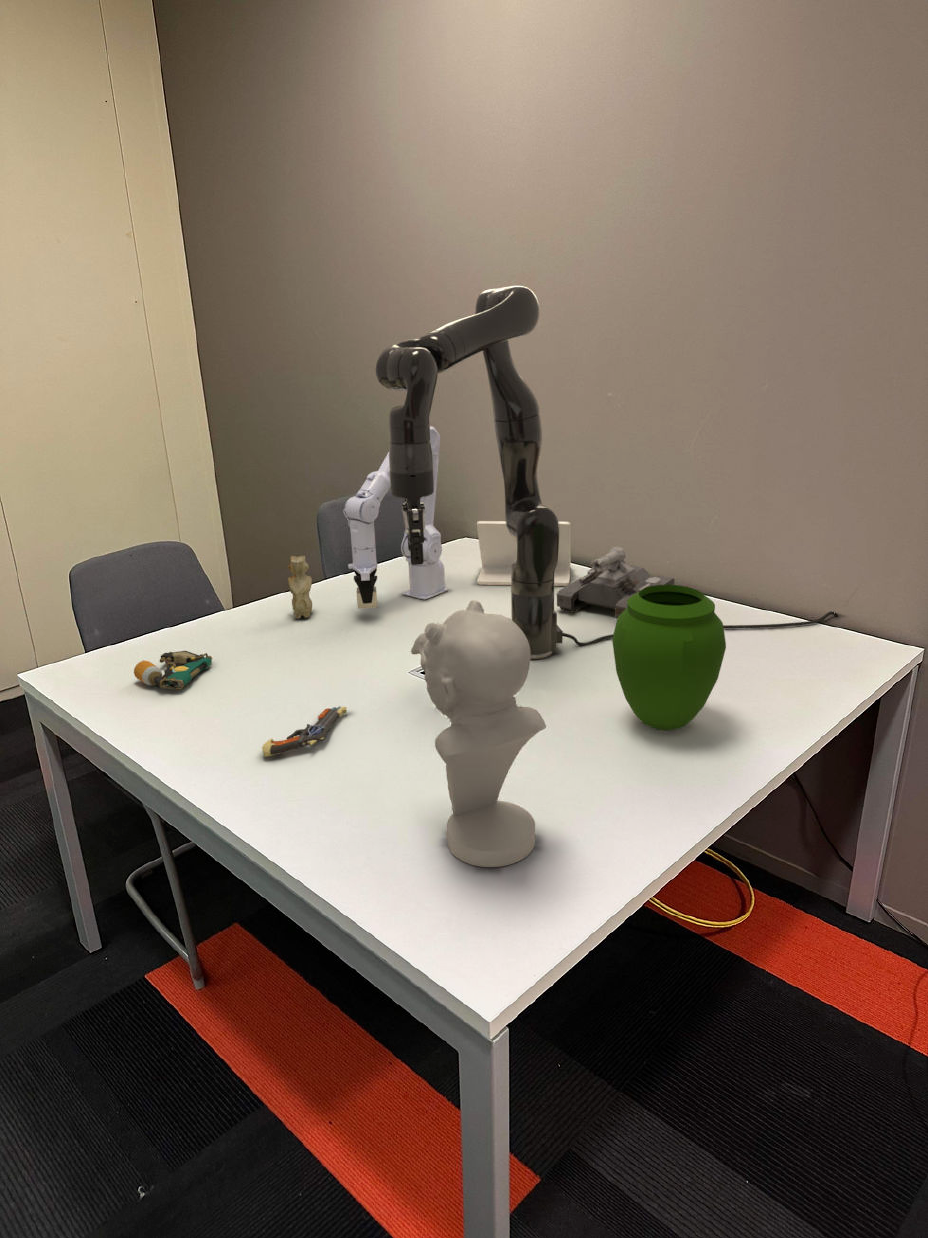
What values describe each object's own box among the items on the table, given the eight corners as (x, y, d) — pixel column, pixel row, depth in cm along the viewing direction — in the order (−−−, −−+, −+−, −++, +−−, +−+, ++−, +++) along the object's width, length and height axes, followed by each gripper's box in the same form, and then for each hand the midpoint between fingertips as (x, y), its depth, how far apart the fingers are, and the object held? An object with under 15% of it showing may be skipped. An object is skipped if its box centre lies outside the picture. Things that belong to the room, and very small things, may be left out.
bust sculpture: (481, 772, 140) (476, 569, 128) (565, 848, 120) (569, 617, 108) (392, 800, 134) (378, 588, 121) (465, 886, 114) (457, 642, 101)
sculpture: (316, 609, 217) (311, 553, 212) (313, 619, 210) (307, 561, 205) (293, 610, 217) (287, 554, 211) (289, 620, 210) (283, 562, 205)
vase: (732, 711, 158) (744, 587, 150) (698, 758, 143) (709, 622, 134) (633, 689, 168) (638, 571, 159) (591, 730, 153) (595, 602, 144)
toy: (603, 584, 229) (605, 530, 224) (673, 597, 218) (677, 540, 213) (555, 612, 210) (556, 553, 205) (630, 627, 199) (633, 566, 194)
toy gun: (257, 746, 146) (311, 744, 144) (298, 704, 164) (347, 701, 161) (260, 761, 146) (314, 759, 144) (300, 717, 164) (349, 715, 162)
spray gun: (177, 659, 191) (231, 671, 185) (120, 684, 176) (176, 698, 171) (176, 641, 190) (230, 653, 184) (118, 665, 175) (174, 678, 169)
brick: (357, 602, 213) (356, 587, 211) (377, 601, 213) (376, 586, 212) (357, 608, 209) (356, 593, 207) (377, 607, 209) (376, 591, 208)
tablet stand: (569, 585, 229) (570, 524, 223) (476, 584, 232) (475, 523, 226) (570, 566, 246) (571, 508, 240) (484, 564, 249) (483, 507, 243)
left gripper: (347, 539, 212) (351, 591, 217) (346, 555, 198) (350, 610, 203) (375, 537, 213) (379, 589, 217) (376, 554, 199) (380, 608, 204)
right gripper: (388, 461, 154) (393, 547, 160) (391, 476, 141) (396, 570, 147) (429, 459, 155) (433, 545, 161) (436, 474, 142) (439, 567, 148)
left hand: (367, 599), depth 210 cm, fingers closed on brick, 4 cm apart
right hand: (415, 557), depth 154 cm, fingers open, 8 cm apart
